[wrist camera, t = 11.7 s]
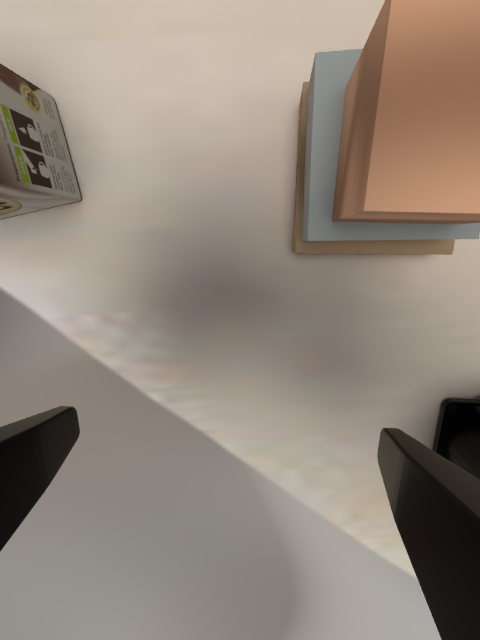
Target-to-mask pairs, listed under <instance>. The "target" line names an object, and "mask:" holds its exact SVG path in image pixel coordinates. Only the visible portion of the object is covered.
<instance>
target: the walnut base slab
mask: <svg viewBox="0 0 480 640" xmlns="http://www.w3.org/2000/svg"><path fill="white" fill-rule="evenodd" d="M308 87H309V82H304V83H303V89H302V94H301V100H300V109H299V130H298V152H297V174H296V195H295V217H294V239H293V252H294V253H312V254H452V252H453V247H454V241H455V239H424V240H345V241H302V229H303V203H304V177H305V151H306V125H307V99H308Z"/></svg>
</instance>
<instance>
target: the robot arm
mask: <svg viewBox="0 0 480 640" xmlns="http://www.w3.org/2000/svg"><path fill="white" fill-rule="evenodd" d="M452 405H454V407H453V408H452V409H449V407H450V406H452ZM79 434H80V428H79V422H78V416H77V411H76V409H75V408H74V407H70V406H60V407H57V408H54V409H51V410H48V411H45V412H42V413H39V414H37V415H34V416H31V417H28V418H25V419H22V420H19V421H17V422H14V423H11V424H8V425H5V426H2V427H0V551H1V550H2V549H3V547H4V546H5V544H6V543H7V542H8V540H9V539H10V538H11V536H12V535H13V533H14V532H15V531H16V530H17V528H18V527H19V526H20V524H21V523H22V521H23V520H24V519H25V517H26V516H27V515H28V513H29V512H30V511H31V509H32V508H33V507H34V505H35V504H36V502H37V501H38V500H39V498H40V497H41V495H42V494H43V493H44V492H45V490H46V488H47V487H48V486H49V485H50V483H51V481H52V480H53V478H54V477H55V475H56V473H57V472H58V470H59V469H60V467H61V465H62V464H63V462H64V461H65V459H66V457H67V456H68V454H69V452H70V451H71V449H72V447H73V446H74V444H75V443H76V441H77V439H78V437H79ZM378 463H379V467H380V470H381V474H382V477H383V481H384V485H385V488H386V492H387V495H388V499H389V503H390V506H391V510H392V513H393V516H394V519H395V522H396V525H397V528H398V530H399V533H400V535H401V538H402V540H403V543H404V545H405V548H406V551H407V553H408V556H409V558H410V561H411V563H412V566H413V568H414V571H415V573H416V576H417V578H418V581H419V583H420V586H421V589H422V591H423V594H424V596H425V598H426V601H427V604H428V606H429V609H430V611H431V613H432V616H433V619H434V621H435V624H436V626H437V629H438V632H439V634H440V636H441V639H442V640H480V400H464V399H447V400H445V401H444V402H443V403H442V406H441V412H440V417H439V422H438V427H437V432H436V437H435V442H434V447H433V450H431V449H430V448H428V447H426V446H425V445H423V444H422V443H420V442H419V441H417V440H415V439H414V438H412V437H411V436H409V435H407V434H406V433H404V432H403V431H401V430H400V429H397V428H383V429H382V430H381V433H380V439H379V447H378Z"/></svg>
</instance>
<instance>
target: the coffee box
mask: <svg viewBox="0 0 480 640" xmlns="http://www.w3.org/2000/svg"><path fill="white" fill-rule="evenodd" d="M80 200H81V196H80V192H79V188H78V185H77V181H76V177H75V174H74V170H73V166H72V163H71V159H70V155H69V151H68V148H67V144H66V141H65V137H64V133H63V129H62V126H61V122H60V119H59V115H58V111H57V108H56V105H55V102H54V99H53V98H52V96H50V95H49V94H48V93H46V92H45V91H43V90H42V89H40V88H38V87H37V86H35V85H33V84H32V83H30V82H29V81H27V80H26V79H24V78H22V77H21V76H19V75H18V74H16V73H14V72H13V71H11V70H10V69H8V68H7V67H5V66H3V65H2V64H0V219H3V218H7V217H11V216H16V215H20V214H24V213H29V212H33V211H37V210H42V209H46V208H50V207H55V206H59V205H63V204H68V203H72V202H77V201H80Z"/></svg>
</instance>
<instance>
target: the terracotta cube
mask: <svg viewBox="0 0 480 640" xmlns="http://www.w3.org/2000/svg"><path fill="white" fill-rule="evenodd" d="M332 221H339V222H376V223H414V224H452V225H456V224H468V223H480V0H385V2H384V4H383V7H382V9H381V11H380V13H379V15H378V18H377V20H376V22H375V24H374V26H373V29H372V31H371V33H370V35H369V37H368V40H367V42H366V44H365V46H364V48H363V51H362V53H361V55H360V57H359V59H358V62H357V64H356V66H355V68H354V70H353V73H352V75H351V77H350V79H349V81H348V83H347V86H346V92H345V101H344V111H343V120H342V130H341V139H340V148H339V158H338V167H337V177H336V186H335V195H334V205H333V214H332Z"/></svg>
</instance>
